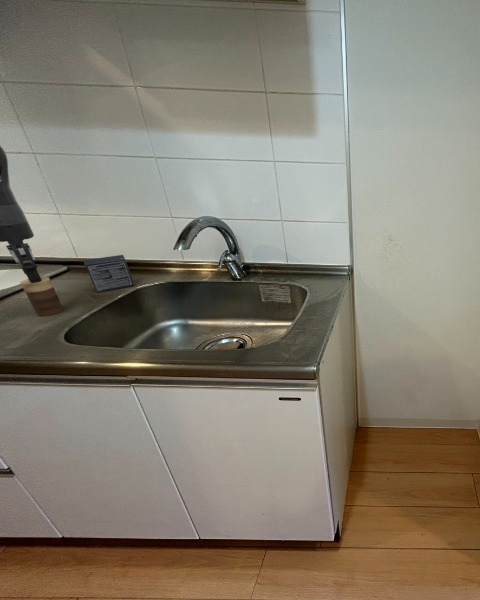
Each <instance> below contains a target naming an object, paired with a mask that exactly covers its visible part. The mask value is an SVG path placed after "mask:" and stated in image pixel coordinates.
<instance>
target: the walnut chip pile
mask: <svg viewBox="0 0 480 600" xmlns="http://www.w3.org/2000/svg"><path fill="white" fill-rule="evenodd" d="M24 293H25V295H26V297H27V299H28V300H29V302H30V305H31V306H32V308H33V310H34V313H35V314H36V316H37V317H50V316H54V315H58V314H60V313H62V312H63V311H64V306H63V305H62V302H61V300H60V298H59V295H58V294H57V292H56V289H55V287H54V286H53V287H52V288H50V289H48V290H44V291H40V292H25V291H24Z"/></svg>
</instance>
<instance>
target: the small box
mask: <svg viewBox="0 0 480 600" xmlns="http://www.w3.org/2000/svg"><path fill="white" fill-rule="evenodd" d="M83 263H84V267H85V268H86V271H87V273H88V275H89V278H90V280H91V282H92V285H93V287H94V290H95V293H104V292H108V291H113V290H120V289H124V288H129V287H135V286H136V284H135V282H134V280H133V276H132V274H131V271H130V268H129V266H128V262H127V259H126V257H125V256H124V254H118V255H111V256H103V257H96V258H88V259H83Z"/></svg>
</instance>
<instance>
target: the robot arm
mask: <svg viewBox="0 0 480 600" xmlns="http://www.w3.org/2000/svg"><path fill="white" fill-rule="evenodd" d="M34 236H35V234H34V232H33V229H32V228H31V226H30V223H29V221H28V219H27V217H26V214H25V213H24V211H23V209H22V207H21V206H20V204H19V202H18V201H17V198H16V196H15V194H14V191H13V190H12V188H11V184H10V174H9V161H8V156H7V153H6V151H5V150H4V148H3V147H2V146H1V145H0V243H4V242H5V243H6V242H7V245H5V248H6V250H7V251H8V253H9V254H10V255H11V256H12V258H13V259H14V261H15V263H16V264H18V265H19V266H20V268H21V270H22V271H23V274H24V275H26V277H27V279H29V281H30V282H31V283H36V282H41V281H42V279H41V277H42V276H40V273H39V271H38V264H37V265H36V262H35V261H36V258H35V257H34V253H33V252H32V248H31V246H30V245H29V243H28V242H25V243H24V241H25V240H29V239H32V238H34Z"/></svg>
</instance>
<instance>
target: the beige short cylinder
mask: <svg viewBox="0 0 480 600" xmlns="http://www.w3.org/2000/svg"><path fill="white" fill-rule="evenodd" d="M40 277H41V279H42V281H41V282H36V283H31V282H30V281H29V279H28V278H26V279H23V280H21V281H20V285H21V287H22V289H23V291H24V293H25V292H40V291H44V290H48V289H50V288H52V287H54V285H53V283H52V281H51V279H50V277H49V276H40Z"/></svg>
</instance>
